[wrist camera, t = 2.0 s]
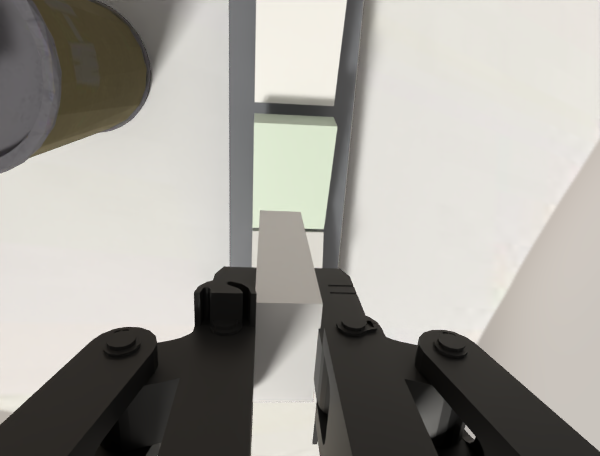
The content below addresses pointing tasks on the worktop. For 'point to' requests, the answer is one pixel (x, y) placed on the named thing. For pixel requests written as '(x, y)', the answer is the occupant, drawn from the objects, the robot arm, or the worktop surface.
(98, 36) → the canister
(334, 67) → the block
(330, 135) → the rocker mid
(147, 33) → the worktop surface
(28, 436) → the robot arm
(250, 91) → the rocker switch panel
